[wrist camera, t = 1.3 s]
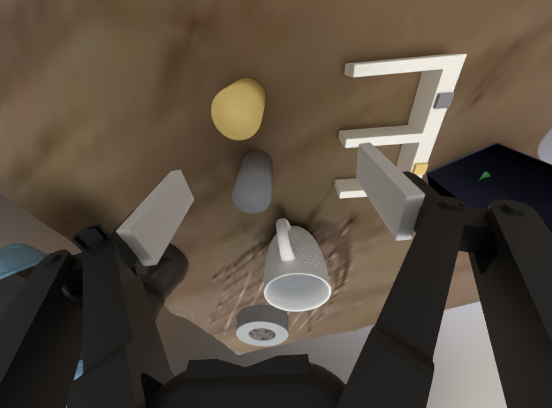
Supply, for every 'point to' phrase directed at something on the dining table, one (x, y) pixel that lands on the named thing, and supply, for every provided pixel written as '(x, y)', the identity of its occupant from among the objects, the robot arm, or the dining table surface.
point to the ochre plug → (239, 109)
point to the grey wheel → (262, 325)
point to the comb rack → (423, 118)
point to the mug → (295, 270)
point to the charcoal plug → (253, 183)
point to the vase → (497, 180)
